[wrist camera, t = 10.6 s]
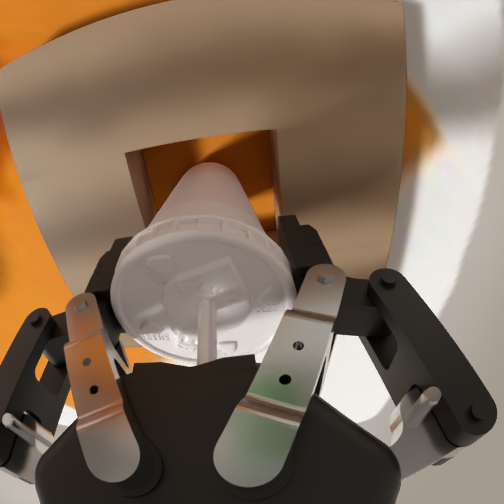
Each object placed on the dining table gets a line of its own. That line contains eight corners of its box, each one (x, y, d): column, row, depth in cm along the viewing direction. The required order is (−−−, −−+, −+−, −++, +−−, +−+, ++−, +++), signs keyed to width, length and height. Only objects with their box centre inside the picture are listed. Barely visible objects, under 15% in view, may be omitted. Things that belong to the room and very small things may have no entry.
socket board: (21, 67, 12) (-6, 72, 9) (376, 8, 12) (402, 2, 10) (112, 321, 25) (105, 348, 22) (361, 291, 25) (373, 316, 23)
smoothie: (282, 164, 17) (388, 390, 6) (237, 249, 20) (260, 471, 9) (176, 123, 15) (60, 330, 4) (144, 219, 18) (77, 443, 7)
